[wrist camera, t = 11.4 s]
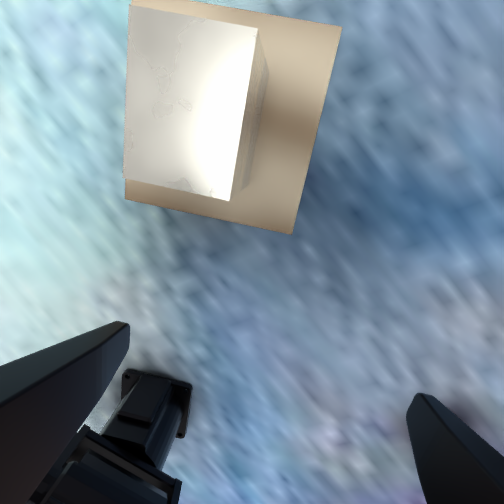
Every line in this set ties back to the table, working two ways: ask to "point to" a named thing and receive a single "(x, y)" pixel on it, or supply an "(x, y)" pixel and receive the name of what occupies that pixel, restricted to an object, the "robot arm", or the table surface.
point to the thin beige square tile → (264, 119)
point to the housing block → (192, 102)
